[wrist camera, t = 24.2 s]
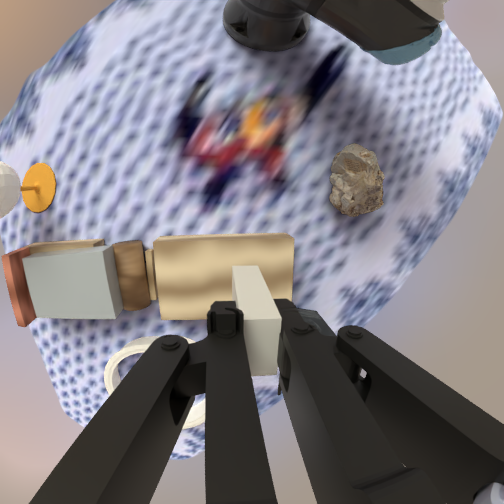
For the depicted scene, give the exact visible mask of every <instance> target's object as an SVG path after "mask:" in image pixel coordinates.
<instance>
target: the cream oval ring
mask: <svg viewBox="0 0 504 504" xmlns="http://www.w3.org/2000/svg"><path fill="white" fill-rule="evenodd" d="M182 337H183V336H182ZM157 338H159V337H158V336H149V337H141V338H138V339H135V340H133V341H131V342H129V343H127V344H126V345H125V346H124V347H123V348H122V349H121V350H120V351H119V352H117V353H115V354H114V355H113V356H112V357H111V358H110V359H109V361H108V363H107V365H106V367H105V372H104V381H105V385H106V389H107V391H108V393H109V395H111V394H112V392H113V391H114V390H115V389H116V387H117V386H118V385H119V384H120V382H121V379H120V376H119V372H118V363H119V362H120V361H121V360H122V359H124V358H126V357H127V356H129V355H132V354H136V353H142V352H145V351H146V350H147V349H148V347H149V346H150V345H151V344H152V342H153V341H154V340H156V339H157ZM184 338H185V339H187V341H188V343H189V344H190V343H195V341H193V340H191V339H188V338H186V337H184ZM203 422H205V399H204V400H203V401H202V402H200V403H199V404H197V405H196V406H194V407H191V410H190V412H189V414H188V416H187V419H186V421H185V423H184V426H183V428H182V429H187V428H191V427H194V426H197V425H200V424H202V423H203Z"/></svg>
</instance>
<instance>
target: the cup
mask: <svg viewBox="0 0 504 504" xmlns="http://www.w3.org/2000/svg"><path fill="white" fill-rule="evenodd" d="M55 189H56V181H55V175H54V173H53V171H52V169H51V168H50V167H49V166H48V165H46V164H45V163H37V164H35V165H33V166H32V167H30V169H29V170H28V171H27V173H26V174H25V177H24V180H23V183H22V186H21V185H20V179H19V177H18V174H17V173H16V171H15V170H14V169H13V168H11V167H10V166H9V165H7V164H5V163H3V162H1V161H0V218H2V217H4V216H5V215H7V214H8V213H9V212H10V211H11V210H12V209H13V208H14V206H15V205H16V203H17V202H18V199H19V196H20V191H22V196H23V201H24V203H25V204H26V206H27V208H28V209H30V210H31V211H32V212H42V211H44V210H46V209H47V208H48V206H49V205H50V204H51V203H52V200H53V198H54V195H55Z"/></svg>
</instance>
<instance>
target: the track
mask: <svg viewBox="0 0 504 504" xmlns="http://www.w3.org/2000/svg"><path fill="white" fill-rule="evenodd" d="M98 246H104V239H89V240H71V241H54V242H39V243H33V244H30V245H28V246H25V247H22V248H20V249H17V250H15V251H12V252H10V253H8V254H5V255H3V256H2V262H3V268H4V273H5V278H6V282H7V287H8V291H9V295H10V299H11V303H12V307H13V310H14V314H15V317H16V320H17V324H18V326H21V327H26V326H27V325H29V324H30V323H31V322H32V321H33V320H34V319H35V318H37V316H36V313H35V310H34V306H33V303H32V299H31V295H30V292H29V288H28V284H27V279H26V275H25V270H24V266H23V261H22V259H23V258H25V257H27V256H29V255H32V254H34V253H39V252H48V251H58V250H67V249H77V248H87V247H98ZM153 248H154V249H147V250H146V251H145V256H146V266H147V276H148V284H149V292H150V300H157V298H159V306H160V313H161V320H197V319H207V313H208V311H209V310H210V306H211V305H212V304H213V303H214V302H215V301H232V266H255V265H258V267H259V269H260V272H261V274H262V276H263V278H264V280H265V283H266V285H267V287H268V289H269V291H270V294H271V296H272V298H273V299H284V298H287V299H288V300H290V301H291V302H292V284H293V261H294V238H293V237H291V236H290V235H288V234H287V233H252V234H212V235H180V236H160V237H159V238H157V239H156V240H155V241H154V242H153Z"/></svg>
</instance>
